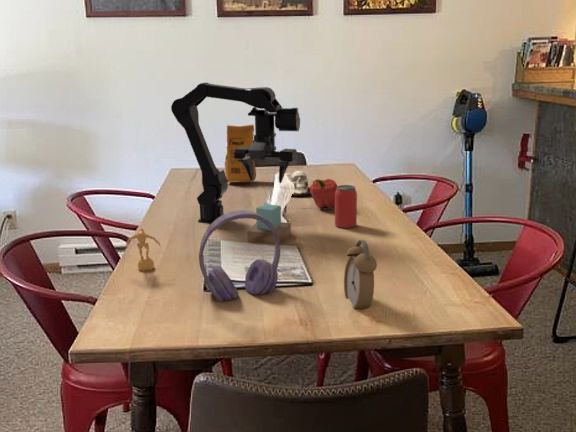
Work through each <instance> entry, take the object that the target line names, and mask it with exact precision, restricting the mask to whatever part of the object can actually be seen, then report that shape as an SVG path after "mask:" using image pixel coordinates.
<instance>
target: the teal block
mask: <svg viewBox="0 0 576 432" xmlns="http://www.w3.org/2000/svg"><path fill="white" fill-rule="evenodd" d="M281 207H282V206H281V205H276V204H271V203H270V204H269V203H264V204H262V205H260V206H258V207H256V208H255V209H256V210H255V211H256V212H255V213H257V214H259V215H261V216H262V217H264V218H265V219H266V220H268V221H269V222H270V223H271V224H272V225H273V226H274V228H275V229H277V228H278V227H280V226H281V222H282V214H281V213H282V208H281ZM256 222H257V229H263V230H269V231H271V230H270V228H269V227H268V226H267V225H266V224H265V223H263V222H261V221H259V220H256Z"/></svg>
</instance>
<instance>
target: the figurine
mask: <svg viewBox="0 0 576 432" xmlns="http://www.w3.org/2000/svg"><path fill="white" fill-rule="evenodd" d="M147 238H148V239H150V240H154V242H155V243H156V244H158V246H159V247H161V244H160V242H159V241H158V240H157V239H156V237H154V236H151V235H150V234H147V233H146V232H145V230H144V228H141V227H140V229H139V230H138V232H137V233H136V234H133V236H131V237H129V238H128V239H127V241H126V244H125V248H128V246H129V243H130V242H131V240H134V239H137V243H136V246H137V249H138V250H139V251H138V253H139V255H140V259H138V262H137V269H138V270H139V271H141V272H142V271H143V272H146V271H151V270H153V269H154V268H155V261H154V260H153V259H152V258H151V257H150V256H149V253H150V251H149V250H150V246H149V242H146V241H147ZM143 248H144V249H146V251H145V256H143V251H142V250H143Z"/></svg>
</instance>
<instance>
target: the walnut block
mask: <svg viewBox="0 0 576 432" xmlns="http://www.w3.org/2000/svg"><path fill="white" fill-rule="evenodd" d="M291 226H292V224H291V222H282V221H281V226H280V227H278V228H277V229H276V231H277V234H278V237H279V242H280V245H283V244H284V243H285V242H286V240H287V239H288V238H290V236H291V234H292V229H291V228H292V227H291ZM246 232H247V243H257V244H274V245H275V243H276V241H275V238H274V235H273V233H272V231H269V230H263V229H257V221H256V222H255V223H254V224H253V225H252V226H251V227H250V228H249V229H248V230H247V231H246Z"/></svg>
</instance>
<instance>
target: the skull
mask: <svg viewBox="0 0 576 432" xmlns="http://www.w3.org/2000/svg"><path fill="white" fill-rule="evenodd" d="M289 179H290V181H291V182H292V183H293V184H294V186H295V190H294V194H293V195H292V196H303V195H304V196H305V195H309V194H311V192H310V186H309V179H308V177H307V175H306V173H305V172H304V171H302V170H296V171H294V172H293V173H291V175H290V177H289ZM290 181H289V182H290Z"/></svg>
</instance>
